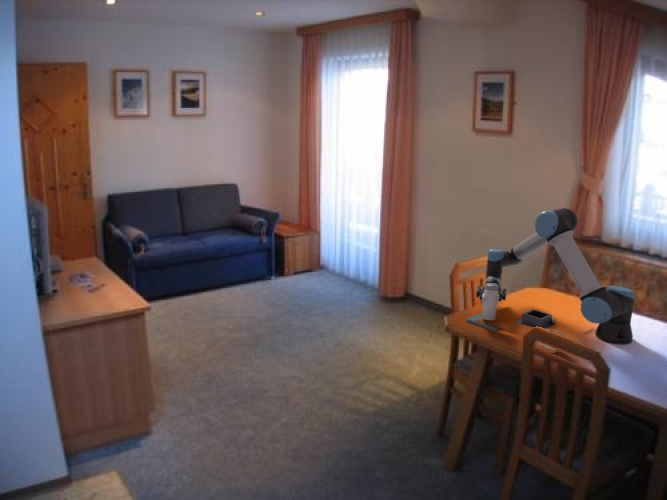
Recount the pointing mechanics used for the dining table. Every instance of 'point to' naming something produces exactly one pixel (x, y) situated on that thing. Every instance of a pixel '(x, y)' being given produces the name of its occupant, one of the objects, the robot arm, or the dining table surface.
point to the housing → (537, 319)
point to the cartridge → (490, 301)
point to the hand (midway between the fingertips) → (490, 301)
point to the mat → (474, 318)
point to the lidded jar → (554, 332)
